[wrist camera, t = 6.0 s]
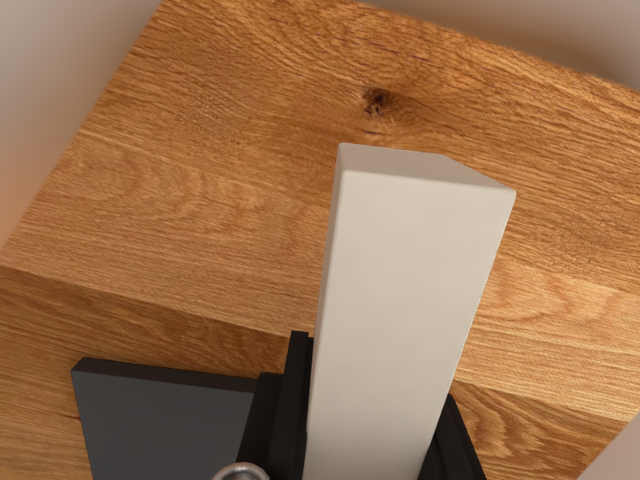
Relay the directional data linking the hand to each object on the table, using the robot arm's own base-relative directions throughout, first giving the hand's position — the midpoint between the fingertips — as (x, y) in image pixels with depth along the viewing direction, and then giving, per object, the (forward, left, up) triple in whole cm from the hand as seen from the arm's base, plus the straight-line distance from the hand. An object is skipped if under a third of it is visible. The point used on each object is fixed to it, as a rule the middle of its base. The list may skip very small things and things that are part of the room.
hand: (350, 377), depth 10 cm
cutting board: (-12, -27, -13) cm, 32 cm away
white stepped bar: (0, -2, 0) cm, 2 cm away
